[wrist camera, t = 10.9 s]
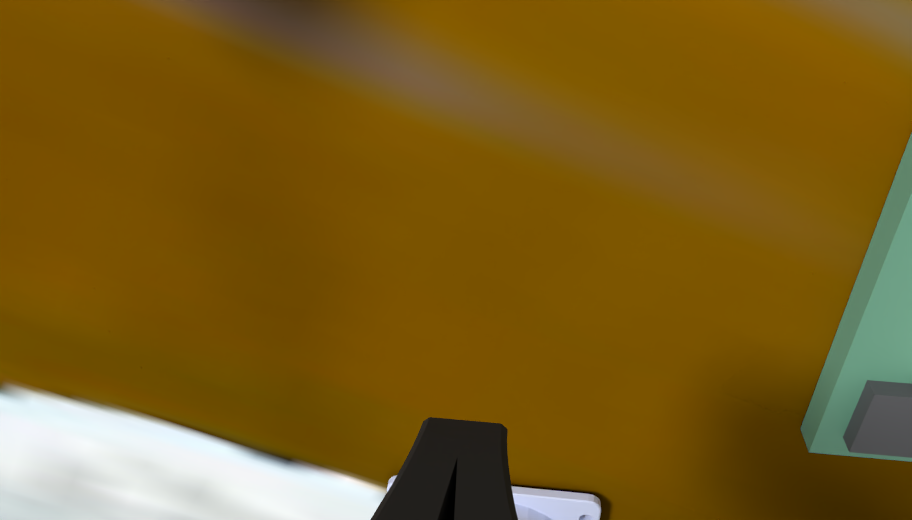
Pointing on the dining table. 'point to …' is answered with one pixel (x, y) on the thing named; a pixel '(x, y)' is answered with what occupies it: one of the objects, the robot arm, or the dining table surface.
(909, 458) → the board
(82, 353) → the dining table surface
